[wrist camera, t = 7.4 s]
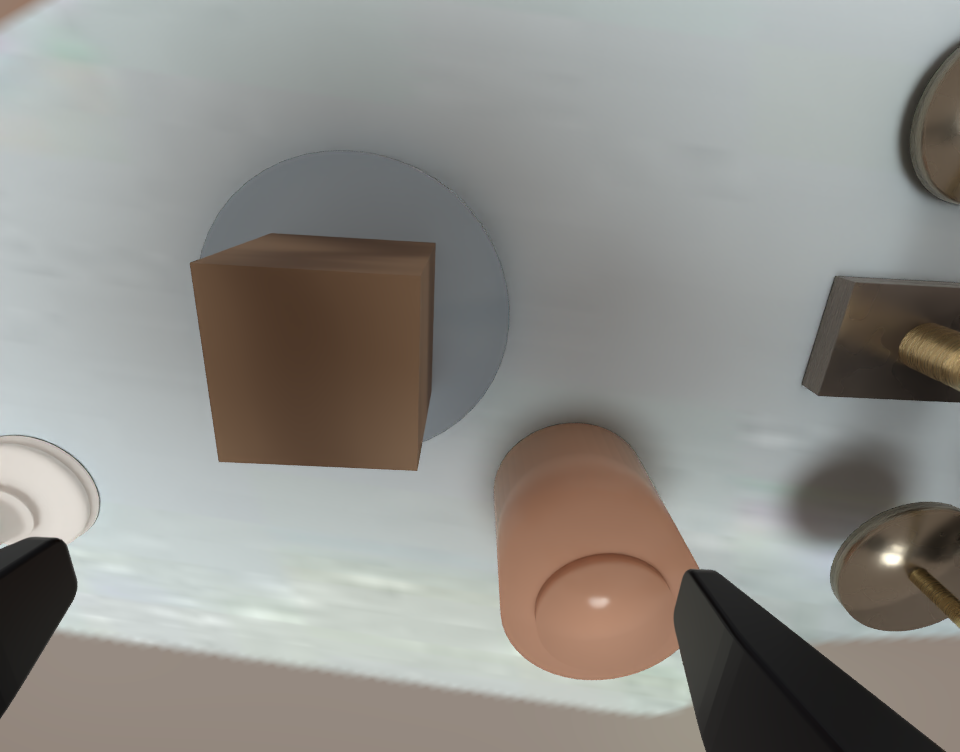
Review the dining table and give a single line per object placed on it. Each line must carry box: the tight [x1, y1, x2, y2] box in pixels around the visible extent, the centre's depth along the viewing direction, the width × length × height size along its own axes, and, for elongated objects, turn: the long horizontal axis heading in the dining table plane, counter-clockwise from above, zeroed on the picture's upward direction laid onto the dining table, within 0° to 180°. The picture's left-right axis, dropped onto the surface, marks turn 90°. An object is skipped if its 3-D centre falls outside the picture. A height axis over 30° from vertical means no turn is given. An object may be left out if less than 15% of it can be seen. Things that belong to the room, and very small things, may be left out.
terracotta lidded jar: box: [494, 423, 699, 680], centre depth 18 cm, size 6×6×6 cm
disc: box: [200, 151, 509, 442], centre depth 18 cm, size 10×10×1 cm
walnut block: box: [190, 233, 436, 471], centre depth 15 cm, size 5×5×5 cm
